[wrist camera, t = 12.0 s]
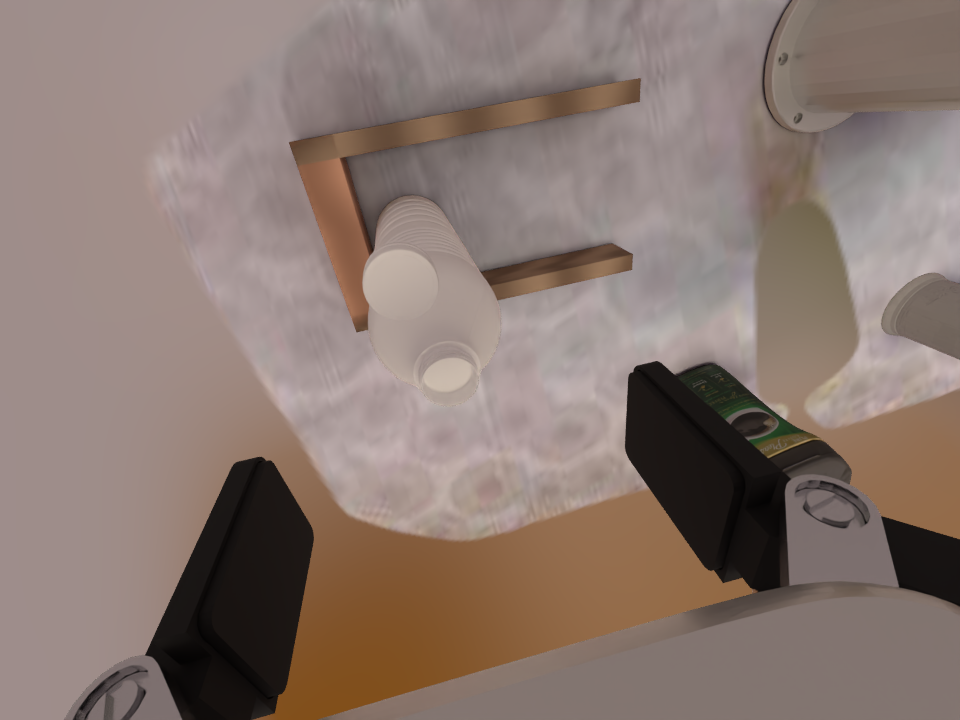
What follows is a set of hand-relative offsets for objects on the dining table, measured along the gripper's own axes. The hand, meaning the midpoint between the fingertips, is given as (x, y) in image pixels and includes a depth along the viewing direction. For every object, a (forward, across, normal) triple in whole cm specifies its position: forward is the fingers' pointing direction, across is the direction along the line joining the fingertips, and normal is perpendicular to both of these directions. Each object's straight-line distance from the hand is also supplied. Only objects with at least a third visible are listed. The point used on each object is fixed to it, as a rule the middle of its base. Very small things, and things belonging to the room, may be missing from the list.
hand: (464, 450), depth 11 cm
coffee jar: (+30, -30, +28) cm, 51 cm away
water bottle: (+30, 0, 0) cm, 30 cm away
